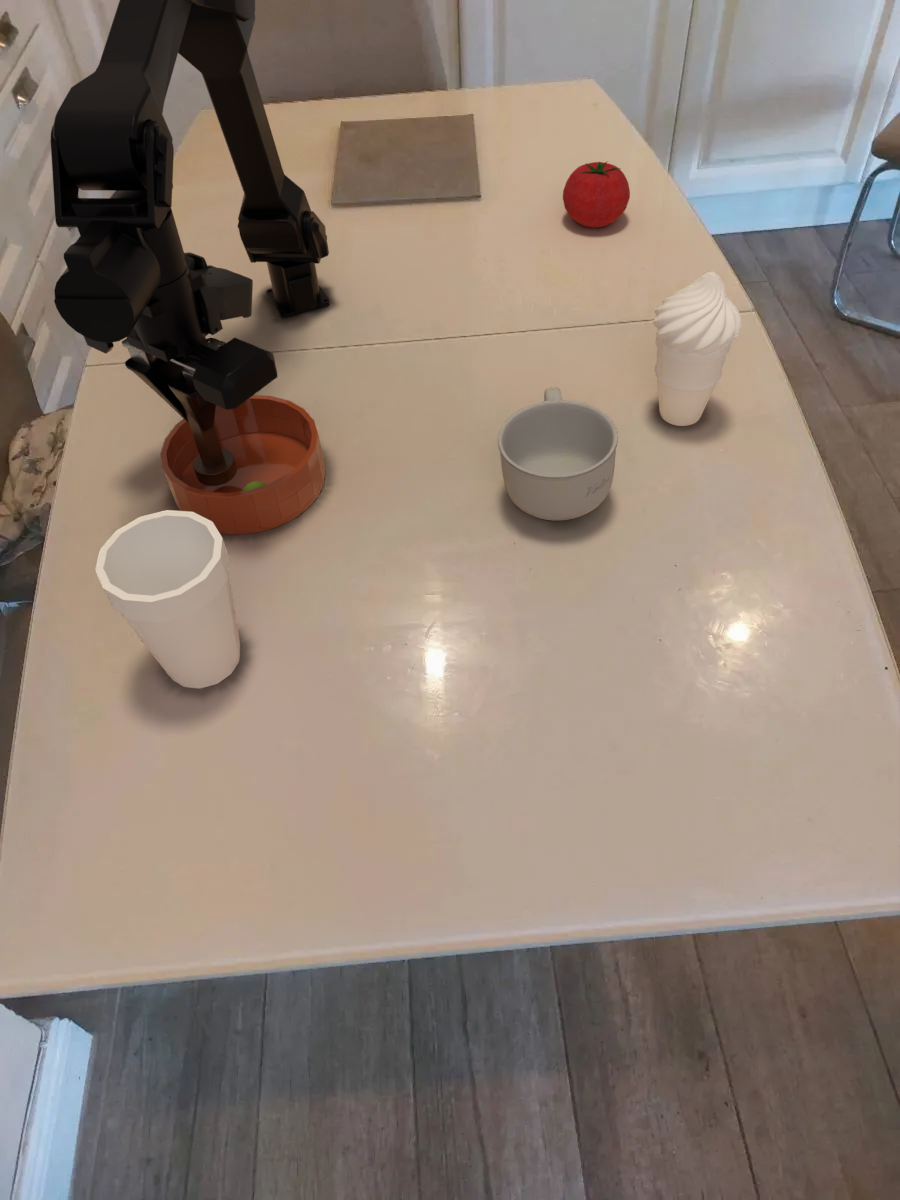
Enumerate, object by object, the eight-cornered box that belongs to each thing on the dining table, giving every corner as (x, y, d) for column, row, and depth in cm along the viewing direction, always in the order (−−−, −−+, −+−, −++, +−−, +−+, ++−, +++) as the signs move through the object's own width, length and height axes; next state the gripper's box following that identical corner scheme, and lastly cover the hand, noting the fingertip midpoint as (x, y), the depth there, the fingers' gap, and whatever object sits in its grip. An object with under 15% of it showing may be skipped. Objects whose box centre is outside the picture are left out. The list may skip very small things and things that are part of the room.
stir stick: (188, 476, 90) (158, 393, 82) (217, 454, 92) (190, 370, 84) (217, 491, 88) (189, 407, 80) (245, 468, 90) (221, 384, 82)
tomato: (637, 214, 124) (644, 154, 118) (609, 243, 119) (614, 183, 113) (580, 200, 127) (583, 141, 121) (549, 228, 123) (552, 168, 116)
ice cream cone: (671, 449, 92) (696, 308, 80) (624, 405, 97) (640, 266, 85) (737, 422, 95) (771, 281, 82) (687, 380, 100) (713, 242, 87)
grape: (242, 502, 85) (248, 521, 88) (274, 494, 86) (278, 514, 88) (236, 478, 87) (241, 498, 89) (267, 471, 87) (271, 491, 90)
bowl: (159, 460, 95) (145, 422, 91) (298, 417, 99) (290, 378, 95) (195, 555, 86) (180, 517, 82) (346, 503, 89) (339, 464, 86)
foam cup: (156, 620, 81) (107, 515, 71) (260, 610, 81) (226, 504, 71) (142, 709, 75) (86, 608, 65) (254, 698, 75) (216, 595, 65)
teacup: (605, 543, 84) (612, 479, 78) (489, 530, 86) (488, 466, 80) (617, 446, 93) (625, 381, 87) (513, 437, 95) (513, 372, 89)
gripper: (304, 257, 74) (332, 412, 86) (148, 202, 81) (194, 351, 93) (205, 322, 68) (250, 479, 80) (48, 257, 76) (110, 409, 87)
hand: (201, 424), depth 85 cm, fingers closed on stir stick, 2 cm apart
